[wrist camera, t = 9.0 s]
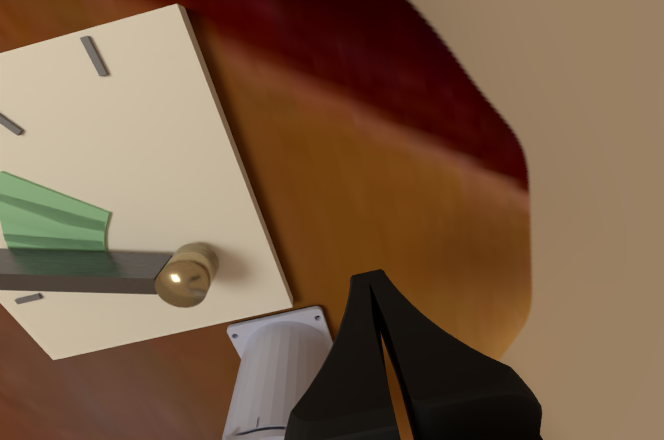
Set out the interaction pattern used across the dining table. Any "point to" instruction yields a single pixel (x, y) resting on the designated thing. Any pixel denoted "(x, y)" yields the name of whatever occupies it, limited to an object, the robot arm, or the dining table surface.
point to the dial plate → (127, 180)
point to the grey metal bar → (113, 272)
